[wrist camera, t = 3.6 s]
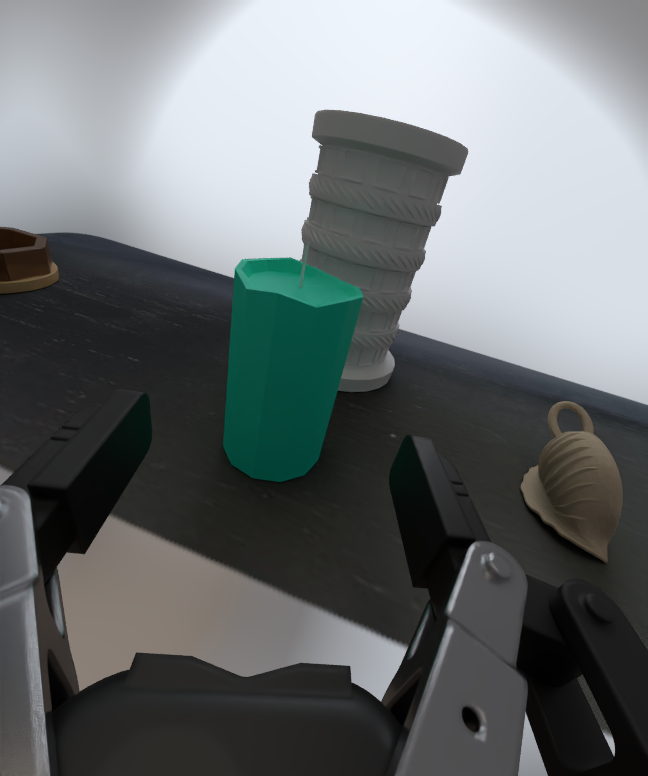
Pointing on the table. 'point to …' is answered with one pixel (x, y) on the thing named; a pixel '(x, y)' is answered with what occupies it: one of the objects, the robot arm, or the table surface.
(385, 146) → the decorative container
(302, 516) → the table surface
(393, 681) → the robot arm
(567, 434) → the decorative ornament
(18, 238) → the candle pad
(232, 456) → the candle
